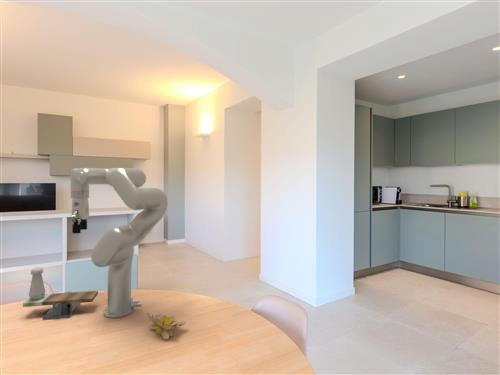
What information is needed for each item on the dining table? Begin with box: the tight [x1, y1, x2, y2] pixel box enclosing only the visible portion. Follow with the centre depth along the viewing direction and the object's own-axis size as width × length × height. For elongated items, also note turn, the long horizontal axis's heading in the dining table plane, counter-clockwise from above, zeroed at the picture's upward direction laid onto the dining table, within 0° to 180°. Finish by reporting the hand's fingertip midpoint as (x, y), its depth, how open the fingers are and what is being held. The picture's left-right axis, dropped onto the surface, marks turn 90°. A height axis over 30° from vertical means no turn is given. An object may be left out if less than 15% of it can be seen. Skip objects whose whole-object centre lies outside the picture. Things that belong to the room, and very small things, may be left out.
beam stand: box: [41, 291, 81, 321], centre depth 129 cm, size 10×14×6 cm
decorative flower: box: [145, 312, 188, 340], centre depth 113 cm, size 15×11×10 cm
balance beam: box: [22, 290, 99, 308], centre depth 129 cm, size 26×9×2 cm, turn 104°
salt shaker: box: [28, 267, 46, 300], centre depth 126 cm, size 6×6×13 cm
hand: (80, 231), depth 139 cm, fingers open, 9 cm apart
